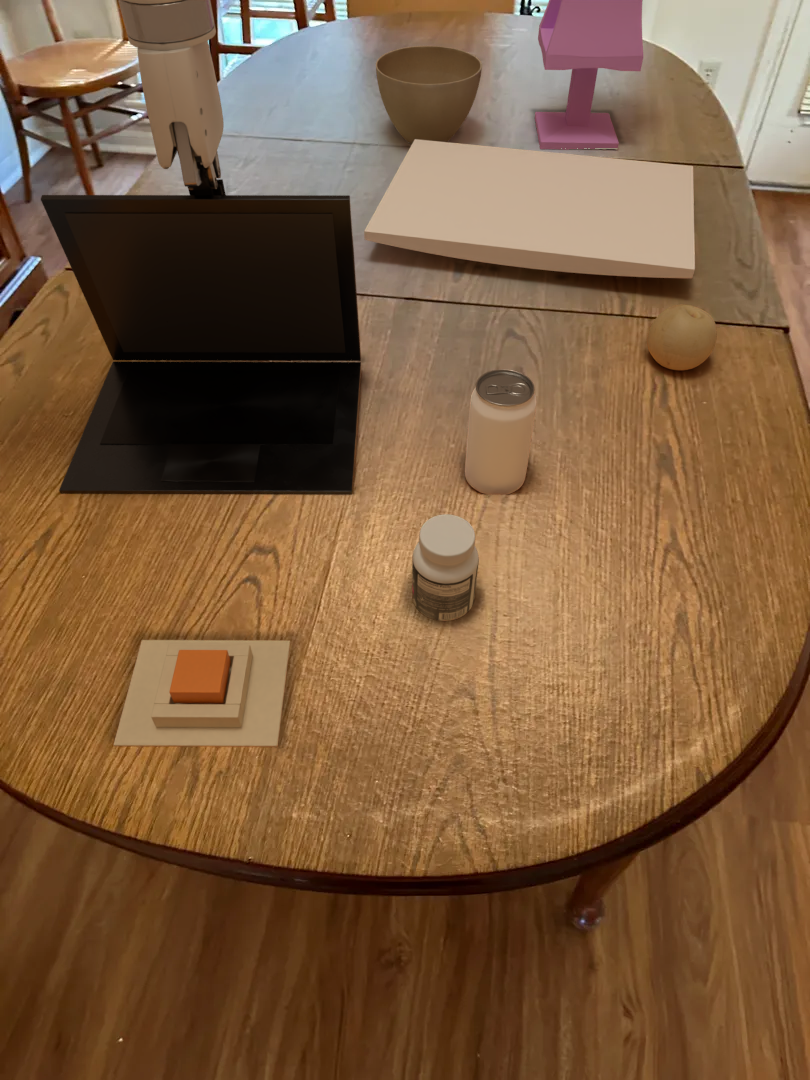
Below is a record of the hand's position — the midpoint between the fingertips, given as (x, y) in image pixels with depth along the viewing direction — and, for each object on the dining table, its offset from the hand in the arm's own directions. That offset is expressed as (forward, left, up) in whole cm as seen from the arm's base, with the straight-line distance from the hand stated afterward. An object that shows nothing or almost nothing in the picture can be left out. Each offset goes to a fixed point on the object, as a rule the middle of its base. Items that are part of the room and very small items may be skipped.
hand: (213, 221), depth 81 cm
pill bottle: (+23, -35, -20) cm, 46 cm away
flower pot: (+23, +70, -20) cm, 77 cm away
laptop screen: (-1, -2, -7) cm, 7 cm away
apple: (+53, +3, -20) cm, 57 cm away
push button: (+3, -45, -17) cm, 48 cm away
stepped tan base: (+3, -45, -20) cm, 49 cm away
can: (+29, -18, -20) cm, 40 cm away
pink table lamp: (+50, +72, -20) cm, 90 cm away
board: (+39, +37, -20) cm, 58 cm away
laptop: (-1, -11, -20) cm, 22 cm away
